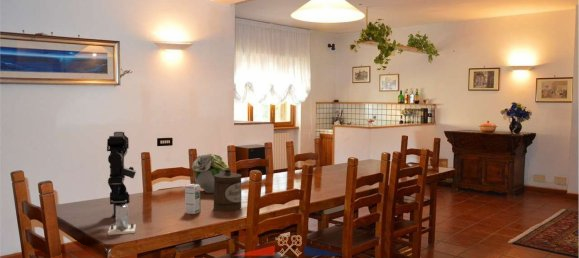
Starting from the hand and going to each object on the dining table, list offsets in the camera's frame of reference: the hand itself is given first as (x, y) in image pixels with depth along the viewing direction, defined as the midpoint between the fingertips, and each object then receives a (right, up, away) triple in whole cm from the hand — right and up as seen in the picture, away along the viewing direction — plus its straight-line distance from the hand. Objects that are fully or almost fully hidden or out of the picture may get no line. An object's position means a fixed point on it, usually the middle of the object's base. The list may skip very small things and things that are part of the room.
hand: (116, 196), depth 220 cm
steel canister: (+6, -13, -11) cm, 18 cm away
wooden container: (+47, -12, +35) cm, 60 cm away
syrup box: (+31, -12, +24) cm, 41 cm away
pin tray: (+6, -14, -11) cm, 19 cm away
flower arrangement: (+31, -9, +80) cm, 86 cm away
